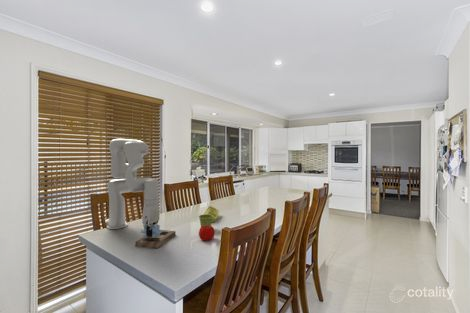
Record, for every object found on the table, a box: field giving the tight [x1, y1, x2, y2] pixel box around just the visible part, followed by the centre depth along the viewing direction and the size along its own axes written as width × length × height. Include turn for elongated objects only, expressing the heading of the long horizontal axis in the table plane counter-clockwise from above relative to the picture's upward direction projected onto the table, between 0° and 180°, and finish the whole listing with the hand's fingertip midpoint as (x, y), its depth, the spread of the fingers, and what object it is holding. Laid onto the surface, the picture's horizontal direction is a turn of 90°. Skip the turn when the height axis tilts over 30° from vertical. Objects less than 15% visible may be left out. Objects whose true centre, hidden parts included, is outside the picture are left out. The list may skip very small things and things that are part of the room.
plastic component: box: [203, 205, 219, 223], centre depth 176 cm, size 20×7×10 cm
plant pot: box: [198, 214, 213, 228], centre depth 152 cm, size 9×9×9 cm
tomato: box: [198, 225, 216, 242], centre depth 135 cm, size 9×9×8 cm
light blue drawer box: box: [140, 224, 164, 238], centre depth 128 cm, size 11×4×6 cm, turn 77°
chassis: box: [134, 229, 177, 250], centre depth 133 cm, size 13×20×3 cm, turn 167°
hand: (151, 234), depth 128 cm, fingers closed on light blue drawer box, 4 cm apart
